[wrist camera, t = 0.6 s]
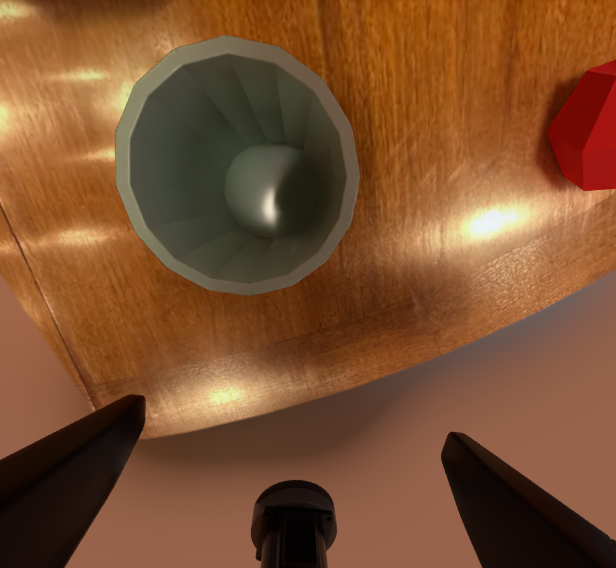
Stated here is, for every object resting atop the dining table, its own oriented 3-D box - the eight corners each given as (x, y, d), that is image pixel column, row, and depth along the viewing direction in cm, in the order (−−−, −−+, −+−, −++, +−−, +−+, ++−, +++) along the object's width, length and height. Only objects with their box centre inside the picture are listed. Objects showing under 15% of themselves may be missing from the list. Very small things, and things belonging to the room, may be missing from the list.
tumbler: (312, 248, 21) (334, 307, 9) (217, 234, 20) (116, 278, 9) (329, 147, 19) (382, 67, 8) (225, 128, 18) (111, 9, 7)
